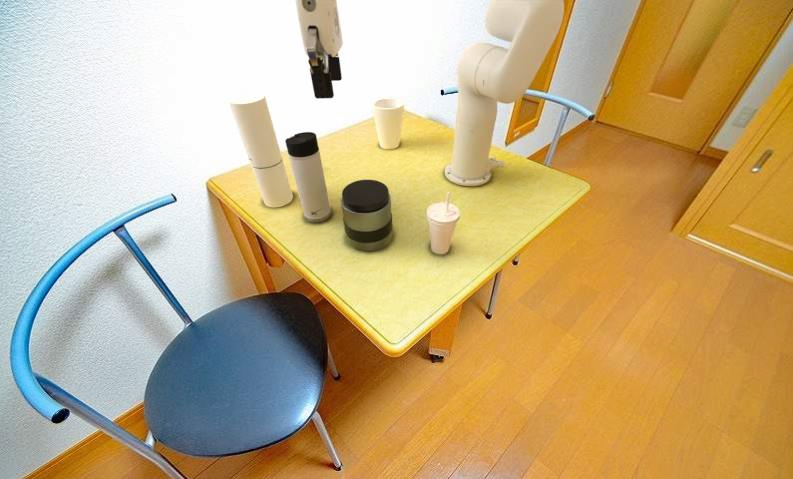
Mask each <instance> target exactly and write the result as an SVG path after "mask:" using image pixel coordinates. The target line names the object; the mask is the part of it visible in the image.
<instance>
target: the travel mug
mask: <svg viewBox="0 0 793 479" xmlns="http://www.w3.org/2000/svg"><path fill="white" fill-rule="evenodd" d="M284 143H285V146H286V149H287V154H288V159H289V162H290V166H291V171H292V174H293V178H294V181H295V185H296V189H297V193H298V196H299V197H298V198H299V200H300V205H301V208H302V212H303V217H304V219H305V220H306V221H307V222H310V223H314V224H315V223H322V222H325V221H327V220H328V219H329V218H330V217H331V215H332V210H331V205H330V199H329V195H328V194H329V193H328V189H327V183H326V178H325V172H324V168H323V162H322V156H321V152H320V147H319V143H318V137H317V134H316V133H315V132H313V131H303V132H297V133H295V134H294V135H293V136H290V137H287V138H286V139H285V141H284Z"/></svg>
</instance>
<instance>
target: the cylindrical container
mask: <svg viewBox="0 0 793 479" xmlns="http://www.w3.org/2000/svg"><path fill="white" fill-rule="evenodd" d="M227 102H228V105H229V108H230V110H231V114H232V116H233V120H234V122H235V124H236V127H237V129H238V133H239V136H240V139H241V141H242V144H243V147H244V150H245V153H246V155H247V156H246V157H247V158H248V161H249V164H250V167H251V170H252V172H253V175H254V178H255V181H256V184H257V186H258V189H259V192H260V195H261V198H262V201H263V204H264V205H265V206H267V207H269V208H281V207H285V206H286V205H288V204H290V203H291V202H292V201H293V198H294V195H293V192H292V188H291V185H290V182H289V178H288V175H287V171H286V170H287V169H286V167H285V163H284V160H283V156H282V152H281V149H280V145H279V142H278V138H277V135H276V131H275V128H274V123H273V120H272V116H271V113H270V110H269V106H268V103H267V102H268V101H267V99H266V95H265V93H263V92H260V91H259V92H258V91H246V92H241V93H237V94H234V95H231V96H230V97H229V98H228V99H227Z"/></svg>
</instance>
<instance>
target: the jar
mask: <svg viewBox="0 0 793 479" xmlns="http://www.w3.org/2000/svg"><path fill="white" fill-rule="evenodd" d="M340 204H341V211H342V221H343V227H344V228H343V229H344V233H345V236H346V241H347V243H348V244H349V246H350V247H352V249H354V250H357V251H361V252H376V251H379V250H381V249H384V248H385V247H386V246H388V245H389V244H390V242H391V241H392V240H393V212H392V196H391V194H390V192H389V187H388V186H387V184H385V183H384V182H382V181H379V180H376V179H360V180H359V179H358V180H355V181H352V182H350V183H349V184H347V185H346V186H344V188H343V189H342V191H341V199H340Z"/></svg>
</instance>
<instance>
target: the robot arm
mask: <svg viewBox="0 0 793 479" xmlns="http://www.w3.org/2000/svg"><path fill="white" fill-rule="evenodd" d="M295 5H296V12H297V18H298V25H299V30H300V36H301V40H302V45H303V49H304V53H305V55H306V56H307V57H308V62H307V63H308V65H309V73H310V78H311V84H312V89H313V94H314V98H315V99H318V100H319V99H320V100H321V99H333V98H334V96H335V93H334V86H333V82H338V81H342V79H343V77H342V69H341V68H342V67H341V61H340V57H339V52H340V50H341V48H342V46H343V42H344V41H343V36H342V34H343V33H342V28H341V23H340V22H341V21H340V16H339V9H338V3H337V0H295ZM564 14H565V2H564V0H491V1H490V3H489V5H488V7H487V11H486V13H485V17H484V28H485V30H486V32H487V33H488V34H489V35H490V36H492V37H493V38H496V39H499V40H502V41H504V42H509V43H510V44H509V46H508V48H505V47H503V46H499V45H496V44H492V43H488V42H475V43H473V44H471V45H469V46H468V47H466V48H465V50H463V52H462V53H461V55H460V57H459V59H458V62H457V67H456V84H457V86H456V87H457V106H456V107H457V108H456V115H455V126H454V136H453V146H452V154H451V162H450V163H449V164H447V165H446V166H445V168H444V175H445V177H446V178H447V179H448V180H449V181H450V182H451V183H453V184H455V185H459V186H464V187H477V186H482V185H485V184H486V183H488V182H489V181H490V180H491V178H492V170H493V169H500V168H504V167H505V161H504V160H503V159H501V160H497V159H496V157H495V156H494V157H490V152H491V146H492V142H493V135H494V130H495V126H496V121H497V116H498V103H500V104H506V105H509V104H513V103H515V102H517V101H518V100H520V99H521V98H522V97H523V96H524V95H525V94H526V92H527V91H528V90H529V88H530V87H531V84H532V83H533V81H534V80H535V78H536V75H537V74H538V72H539V70H540V68H541V66H542V64H543V63H544V61H545V58H546V57H547V55H548V53H549V51H550V49H551V47H552V46H553V44H554V42H555V40H556V39H557V36H558V34H559V32H560V29H561V26H562V23H563V19H564Z"/></svg>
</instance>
